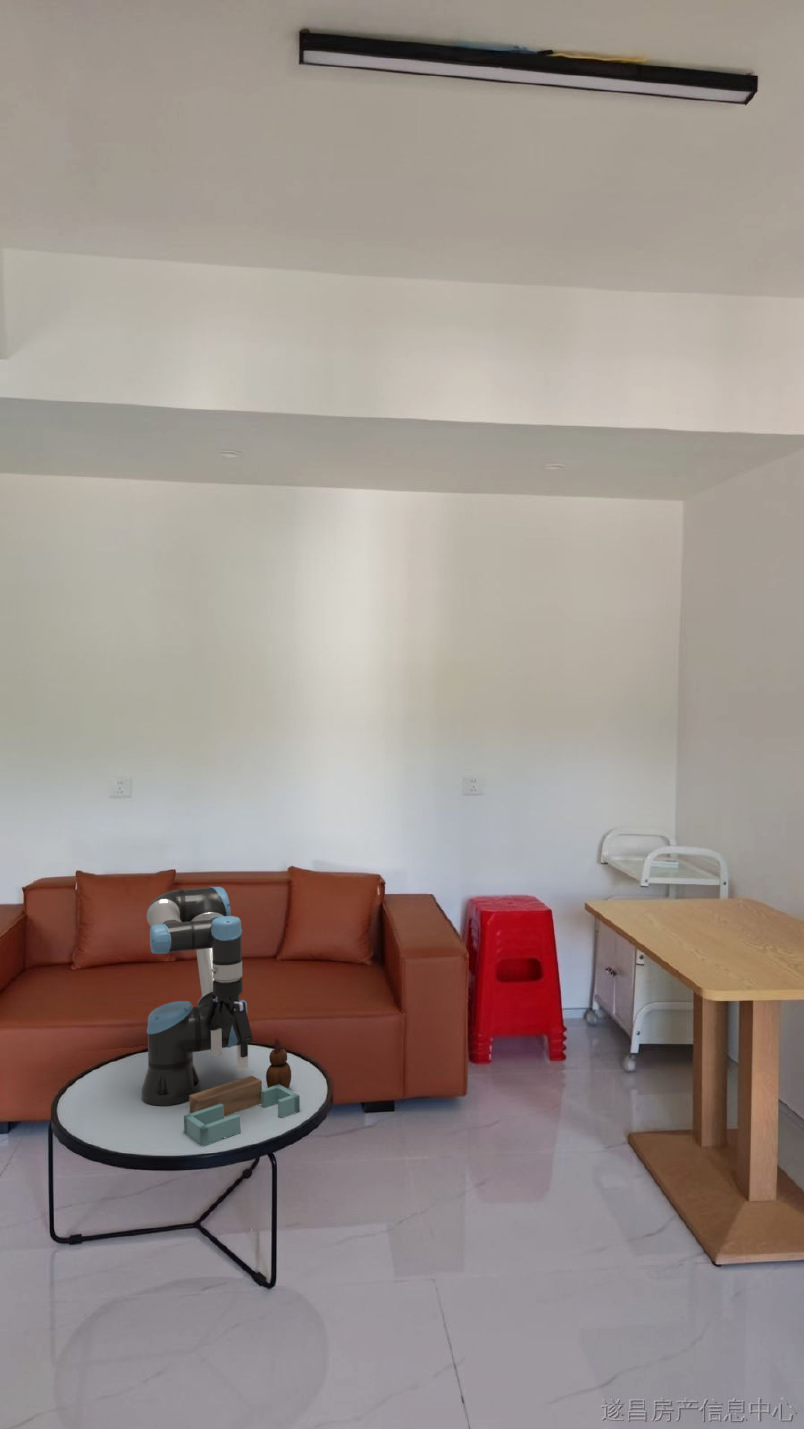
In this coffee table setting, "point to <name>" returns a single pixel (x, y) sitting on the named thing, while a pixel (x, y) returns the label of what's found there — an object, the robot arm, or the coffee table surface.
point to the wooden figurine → (278, 1067)
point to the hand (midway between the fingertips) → (229, 1061)
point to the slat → (229, 1096)
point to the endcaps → (235, 1116)
